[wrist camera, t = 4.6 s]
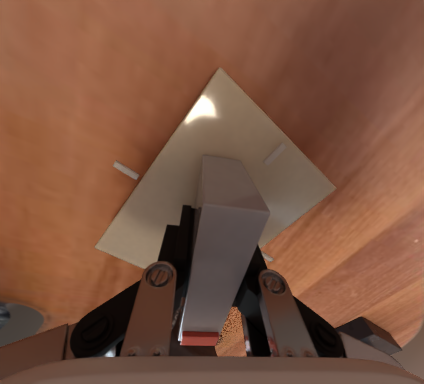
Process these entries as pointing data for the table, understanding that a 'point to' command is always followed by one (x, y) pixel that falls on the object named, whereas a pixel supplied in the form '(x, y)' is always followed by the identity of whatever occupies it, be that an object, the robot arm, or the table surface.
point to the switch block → (370, 335)
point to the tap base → (190, 168)
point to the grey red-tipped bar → (219, 247)
